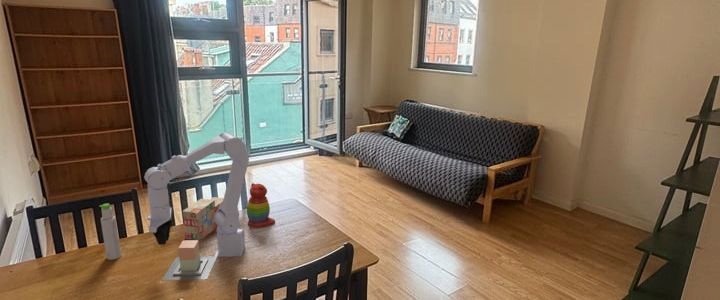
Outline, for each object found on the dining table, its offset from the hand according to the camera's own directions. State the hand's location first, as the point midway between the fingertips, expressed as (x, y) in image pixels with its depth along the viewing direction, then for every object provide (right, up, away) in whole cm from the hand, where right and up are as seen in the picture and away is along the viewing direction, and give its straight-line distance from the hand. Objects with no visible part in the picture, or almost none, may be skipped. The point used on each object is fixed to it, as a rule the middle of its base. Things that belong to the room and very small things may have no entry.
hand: (163, 242), depth 134 cm
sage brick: (+8, -9, +4) cm, 13 cm away
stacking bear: (+22, -1, +38) cm, 44 cm away
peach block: (+8, -5, +2) cm, 10 cm away
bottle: (-22, -7, +9) cm, 25 cm away
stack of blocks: (+2, -2, +32) cm, 33 cm away
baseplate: (+8, -10, +4) cm, 13 cm away
